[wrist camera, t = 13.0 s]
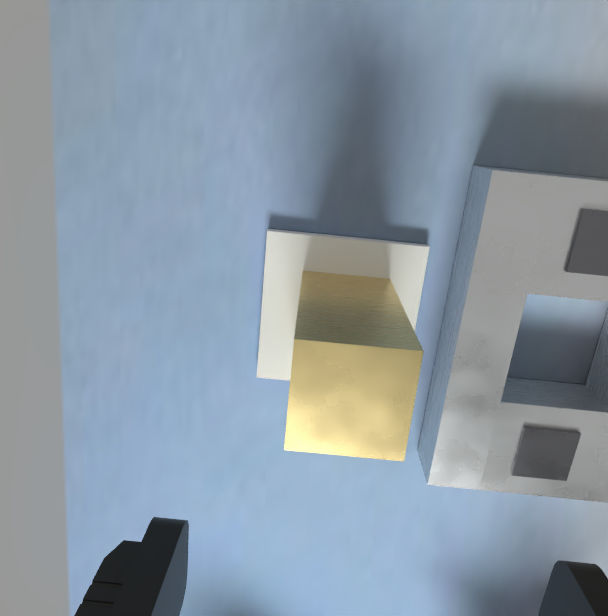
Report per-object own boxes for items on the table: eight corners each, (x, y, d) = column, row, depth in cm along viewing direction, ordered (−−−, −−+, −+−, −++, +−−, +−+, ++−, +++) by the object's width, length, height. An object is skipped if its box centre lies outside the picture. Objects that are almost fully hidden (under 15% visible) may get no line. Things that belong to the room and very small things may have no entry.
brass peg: (390, 278, 26) (423, 351, 18) (378, 358, 28) (403, 461, 19) (302, 270, 26) (293, 339, 18) (295, 350, 28) (284, 449, 19)
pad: (427, 244, 26) (429, 247, 26) (402, 386, 29) (404, 391, 28) (268, 228, 26) (267, 230, 25) (257, 372, 29) (256, 377, 28)
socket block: (702, 188, 25) (755, 196, 22) (607, 469, 30) (639, 508, 27) (473, 165, 25) (494, 170, 22) (417, 451, 30) (428, 487, 27)
